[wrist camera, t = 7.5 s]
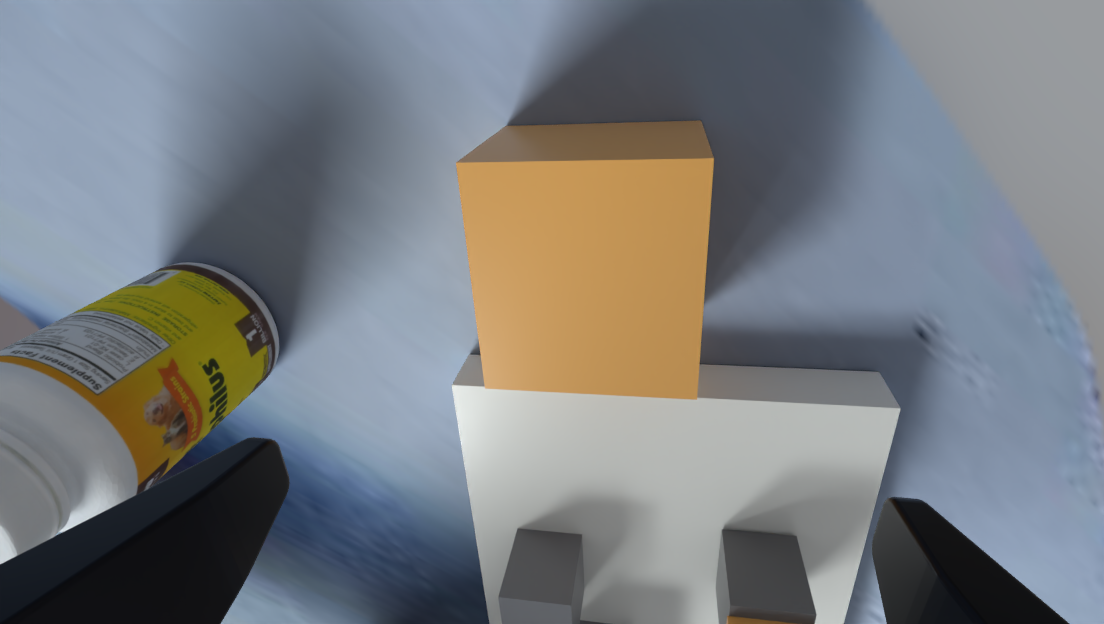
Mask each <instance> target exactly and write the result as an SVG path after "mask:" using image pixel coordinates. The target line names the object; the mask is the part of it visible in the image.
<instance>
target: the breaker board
mask: <svg viewBox="0 0 1104 624" xmlns="http://www.w3.org/2000/svg"><path fill="white" fill-rule="evenodd" d="M452 390H453V396H454V402H455V409H456V415H457V421H458V428H459V434H460V440H461V447H462V453H463V459H464V466H465V472H466V478H467V485H468V491H469V497H470V504H471V510H472V516H473V523H474V529H475V535H476V541H477V548H478V554H479V560H480V567H481V573H482V579H483V586H484V592H485V598H486V605H487V611H488V617H489V624H719V620H718V609H717V597H716V578H717V568H718V559H719V550H720V540H721V531H722V529H725V530H736V531H748V532H759V533H770V534H781V535H792V536H797V539H798V543H799V547H800V551H801V555H802V559H803V563H804V567H805V571H806V575H807V579H808V583H809V587H810V591H811V595H812V598H813V602H814V606H815V610H816V614H817V616H816V620H815V624H844V621H845V617H846V613H847V610H848V606H849V602H850V598H851V594H852V591H853V587H854V583H855V579H856V576H857V572H858V568H859V564H860V560H861V557H862V553H863V549H864V545H865V542H866V538H867V534H868V530H869V527H870V523H871V519H872V515H873V511H874V508H875V504H876V500H877V496H878V493H879V489H880V485H881V481H882V477H883V474H884V470H885V466H886V462H887V459H888V455H889V451H890V447H891V444H892V440H893V436H894V432H895V428H896V425H897V421H898V417H899V413H900V410H901V408H900V406H899V405H898V403H897V401H896V400H895V398H894V396H893V394H892V393H891V391H890V389H889V388H888V386H887V384H886V383H885V381H884V379H883V378H882V376H881V374H880V373H879V372H871V371H847V370H823V369H800V368H776V367H752V366H729V365H705V364H699V379H698V393H697V400H692V399H673V398H654V397H635V396H616V395H597V394H578V393H559V392H540V391H521V390H502V389H485V385H484V378H483V370H482V362H481V355H468V357H467V359H466V361H465V362H464V364H463V366H462V368H461V370H460V371H459V373H458V375H457V377H456V378H455V380H454V382H453V384H452Z"/></svg>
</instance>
